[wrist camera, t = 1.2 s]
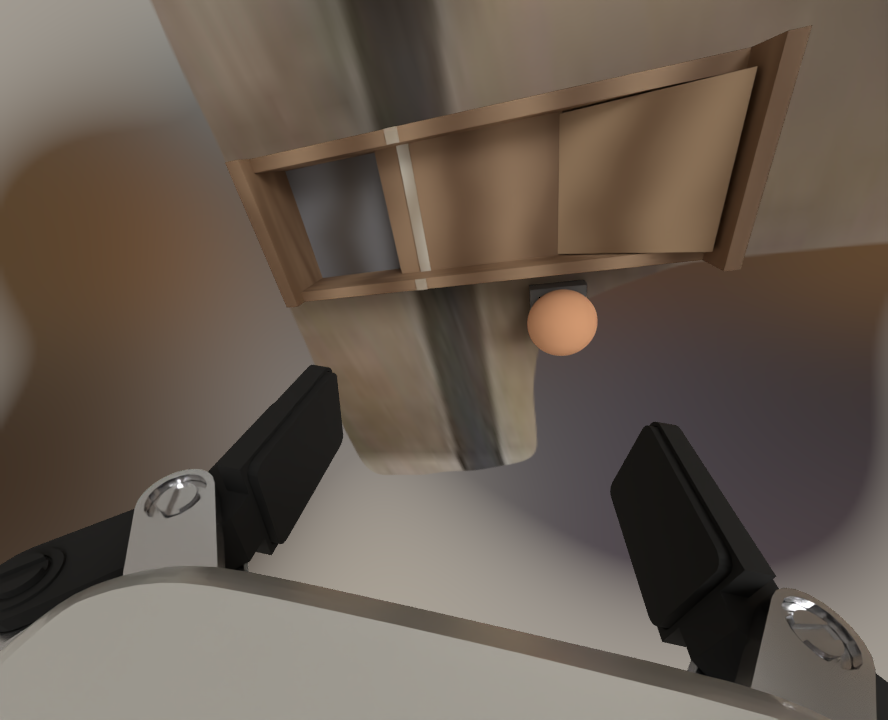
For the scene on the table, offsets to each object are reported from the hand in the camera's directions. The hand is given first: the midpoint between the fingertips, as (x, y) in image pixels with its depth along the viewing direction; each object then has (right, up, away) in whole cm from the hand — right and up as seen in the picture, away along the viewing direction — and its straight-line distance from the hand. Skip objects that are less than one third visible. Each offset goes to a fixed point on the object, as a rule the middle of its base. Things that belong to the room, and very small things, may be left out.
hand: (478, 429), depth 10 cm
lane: (+1, +14, +14) cm, 20 cm away
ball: (+8, +5, +15) cm, 17 cm away
